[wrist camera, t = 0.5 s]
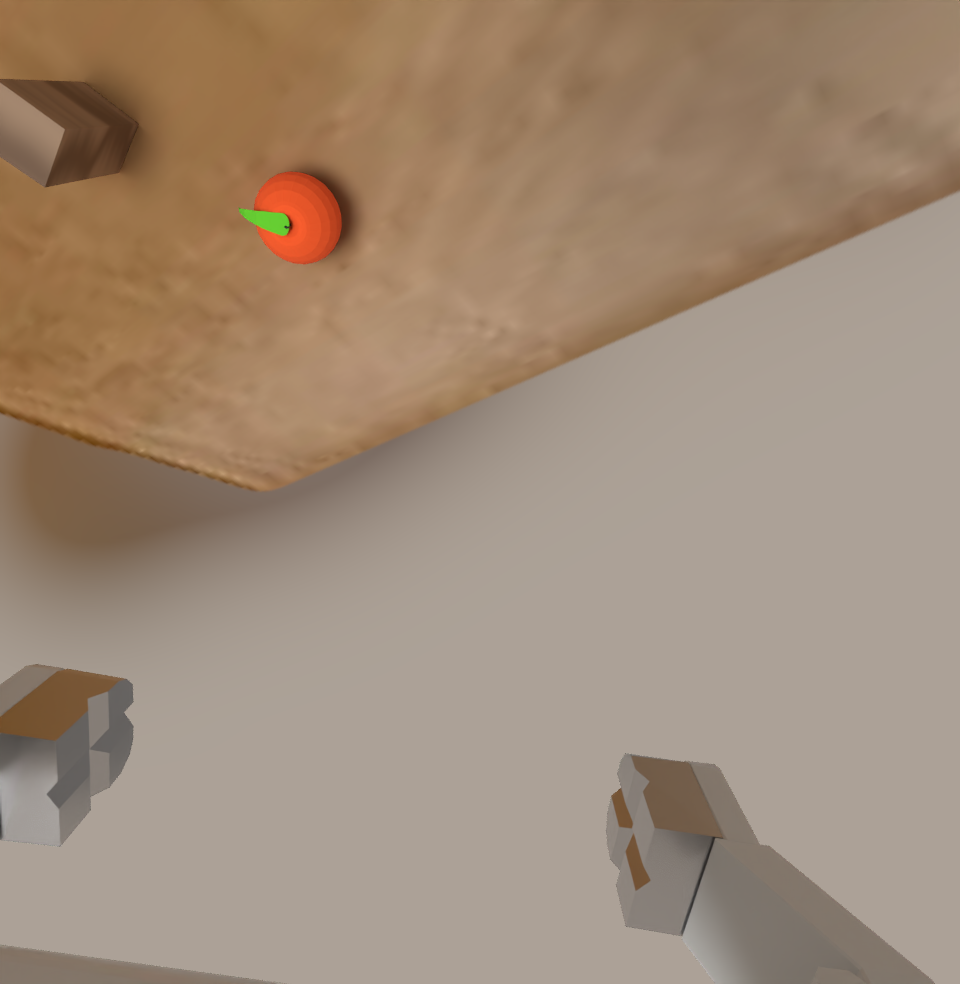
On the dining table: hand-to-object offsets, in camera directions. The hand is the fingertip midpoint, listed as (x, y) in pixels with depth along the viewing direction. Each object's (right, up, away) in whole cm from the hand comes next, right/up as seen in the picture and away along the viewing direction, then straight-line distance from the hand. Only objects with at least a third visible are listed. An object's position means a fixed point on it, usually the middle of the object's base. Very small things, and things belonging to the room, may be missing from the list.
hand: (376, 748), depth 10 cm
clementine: (-14, +29, +42) cm, 53 cm away
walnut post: (-29, +34, +39) cm, 59 cm away
